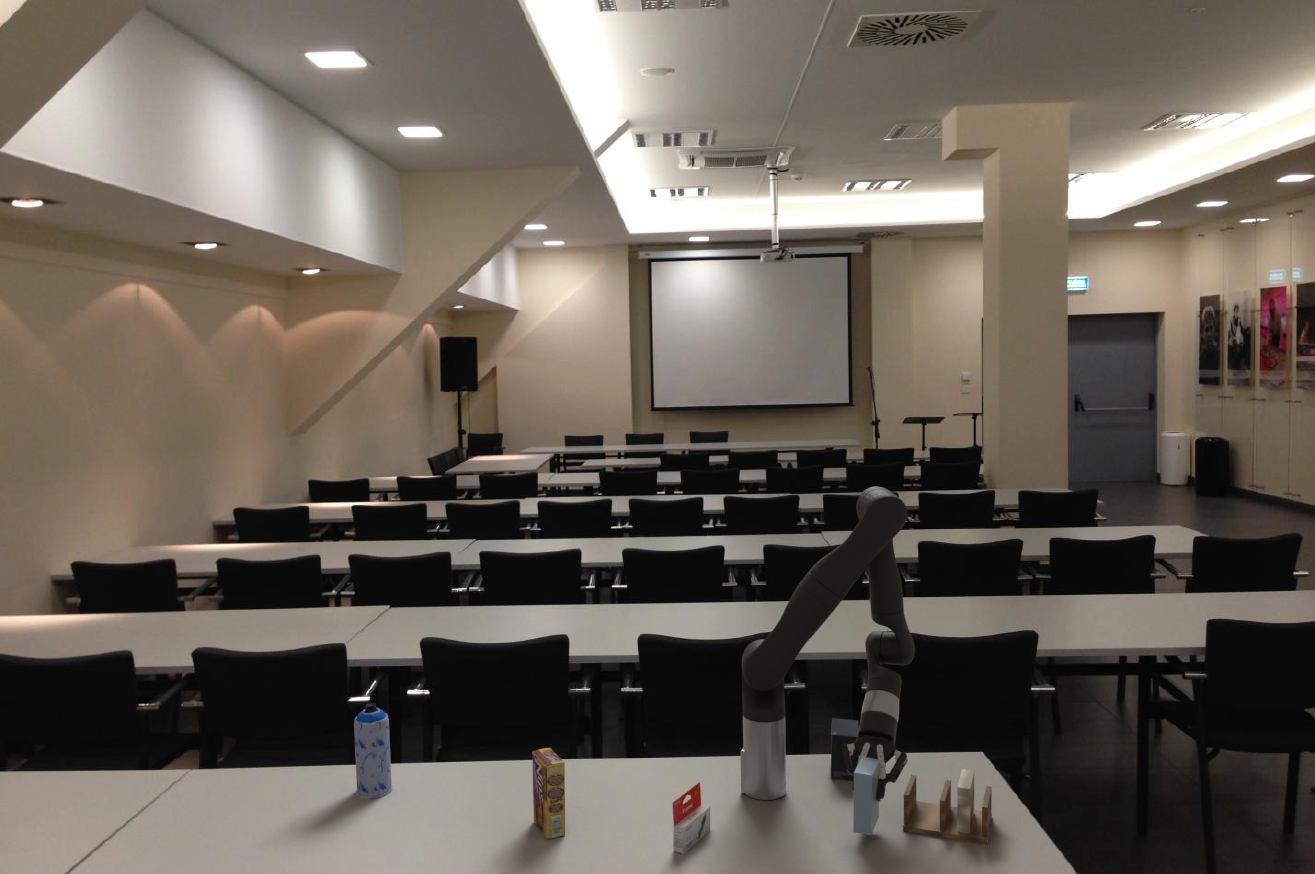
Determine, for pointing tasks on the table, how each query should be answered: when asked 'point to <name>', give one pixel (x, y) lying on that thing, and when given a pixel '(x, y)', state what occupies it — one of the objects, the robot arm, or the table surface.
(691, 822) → the ink cartridge box
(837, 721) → the small box
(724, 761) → the table surface
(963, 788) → the rack
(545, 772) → the candy box
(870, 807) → the pale blue upright slab
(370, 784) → the aerosol can
